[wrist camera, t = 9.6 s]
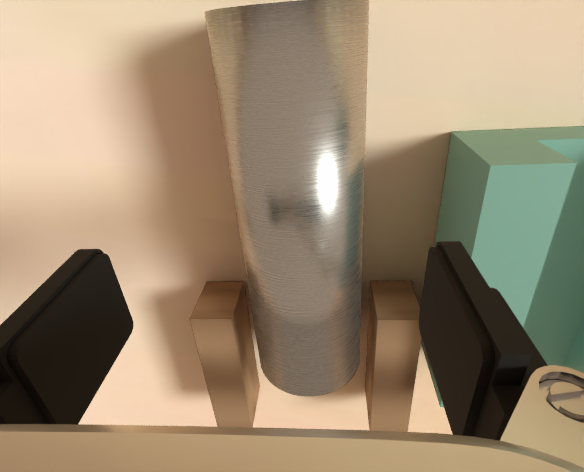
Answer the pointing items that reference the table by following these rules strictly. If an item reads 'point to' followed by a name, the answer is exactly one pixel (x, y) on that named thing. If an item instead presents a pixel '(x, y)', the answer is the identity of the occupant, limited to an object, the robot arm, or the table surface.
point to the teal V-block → (523, 228)
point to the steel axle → (298, 178)
